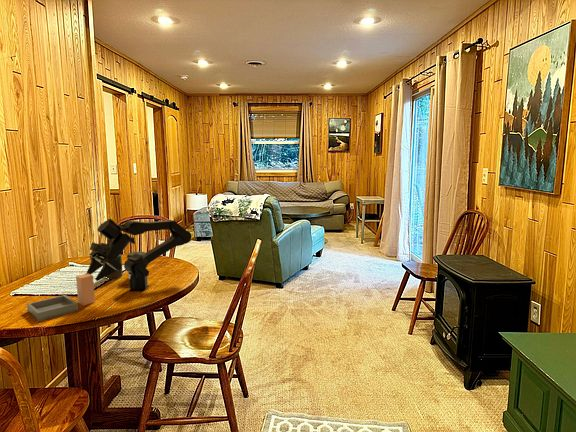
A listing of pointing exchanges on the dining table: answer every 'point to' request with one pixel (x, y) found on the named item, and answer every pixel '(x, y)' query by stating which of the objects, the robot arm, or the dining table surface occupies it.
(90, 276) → the carton
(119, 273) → the beer bottle
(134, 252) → the jar
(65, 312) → the tote
